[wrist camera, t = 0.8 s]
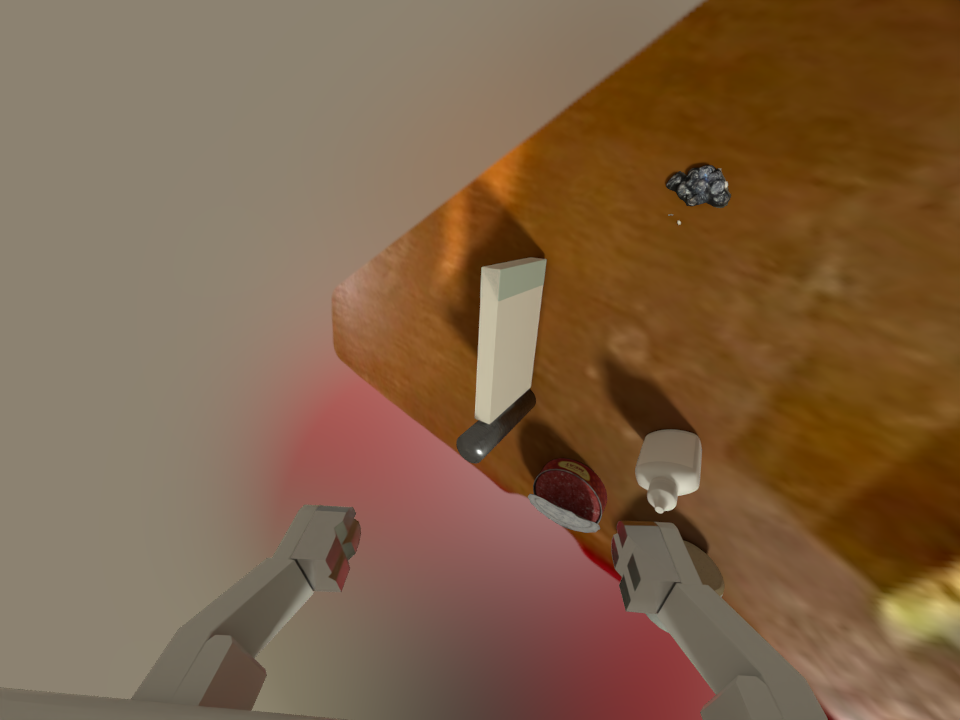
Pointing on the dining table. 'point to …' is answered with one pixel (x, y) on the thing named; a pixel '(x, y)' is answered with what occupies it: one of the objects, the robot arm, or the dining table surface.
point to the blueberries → (701, 187)
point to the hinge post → (493, 429)
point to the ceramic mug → (705, 571)
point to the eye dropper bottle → (669, 466)
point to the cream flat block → (507, 333)
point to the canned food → (570, 495)
